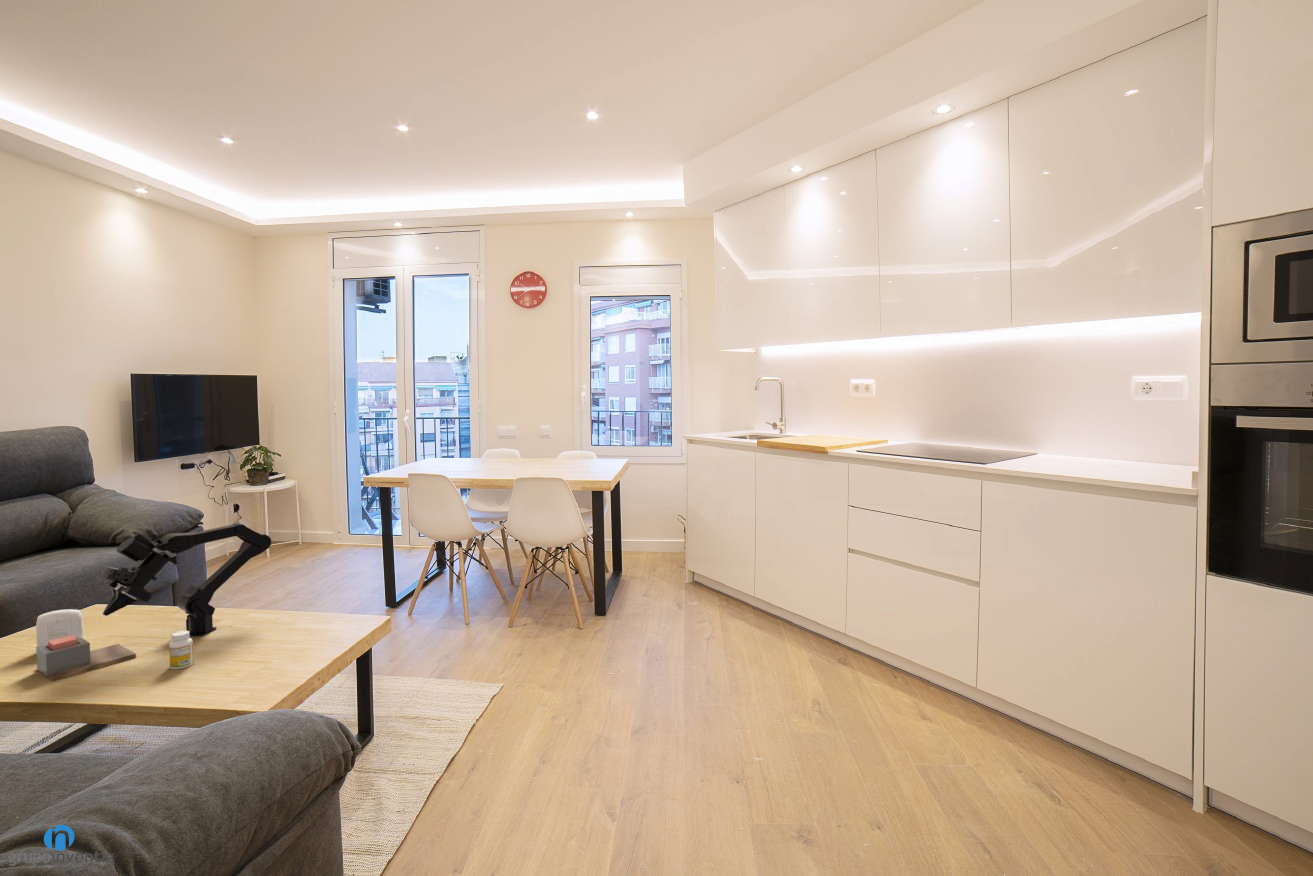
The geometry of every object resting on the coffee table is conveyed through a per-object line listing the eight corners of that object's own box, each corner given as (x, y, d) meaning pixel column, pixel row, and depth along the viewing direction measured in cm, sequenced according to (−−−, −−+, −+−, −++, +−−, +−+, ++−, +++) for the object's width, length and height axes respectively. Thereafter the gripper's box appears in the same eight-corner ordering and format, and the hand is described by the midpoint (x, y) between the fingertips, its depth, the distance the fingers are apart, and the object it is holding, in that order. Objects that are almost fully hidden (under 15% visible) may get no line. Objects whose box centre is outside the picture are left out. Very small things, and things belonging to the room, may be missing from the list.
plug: (72, 655, 172) (71, 635, 172) (78, 659, 169) (77, 638, 169) (48, 661, 168) (47, 641, 168) (54, 665, 165) (53, 644, 165)
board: (118, 647, 184) (118, 643, 184) (136, 657, 177) (135, 653, 177) (37, 669, 169) (36, 665, 169) (52, 681, 162) (52, 676, 162)
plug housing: (80, 656, 175) (79, 636, 175) (90, 663, 170) (89, 643, 170) (37, 667, 167) (36, 647, 167) (46, 675, 163) (45, 654, 162)
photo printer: (85, 643, 187) (83, 605, 187) (81, 648, 184) (79, 609, 183) (39, 651, 182) (37, 611, 181) (35, 655, 178) (33, 615, 178)
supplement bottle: (178, 662, 174) (177, 629, 173) (198, 661, 174) (196, 629, 174) (165, 670, 169) (163, 637, 168) (185, 669, 169) (183, 636, 169)
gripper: (112, 551, 184) (66, 596, 176) (135, 560, 174) (88, 608, 166) (145, 570, 191) (103, 614, 183) (169, 579, 182) (126, 625, 173)
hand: (104, 615), depth 176 cm, fingers closed
